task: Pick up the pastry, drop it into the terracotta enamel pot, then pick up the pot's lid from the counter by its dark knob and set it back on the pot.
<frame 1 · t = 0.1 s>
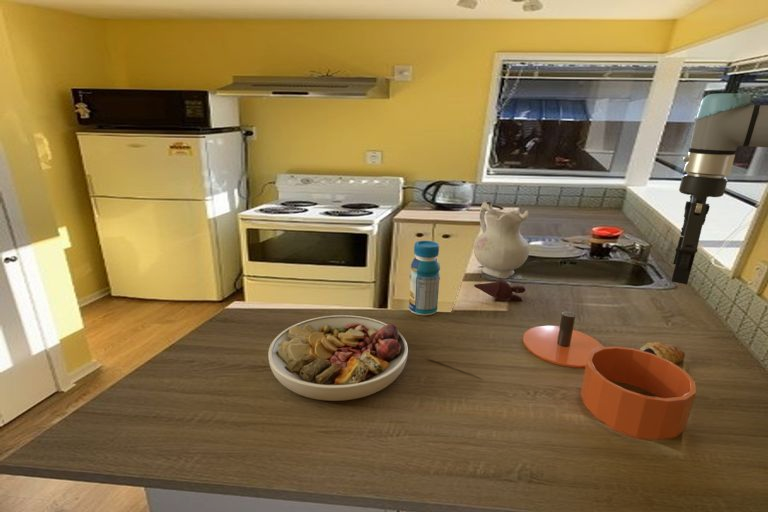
hand: (679, 273, 93), 22 cm above the worktop, tool pointing down, fingers open, 13 cm apart
pastry: (660, 359, 100), on the worktop
icecream: (497, 300, 130), on the worktop
pot lid: (563, 346, 103), point 1 cm above the worktop
pot: (629, 408, 82), on the worktop
beverage bottle: (422, 310, 122), on the worktop
bowl: (339, 366, 94), on the worktop
ceramic pitcher: (495, 271, 155), on the worktop
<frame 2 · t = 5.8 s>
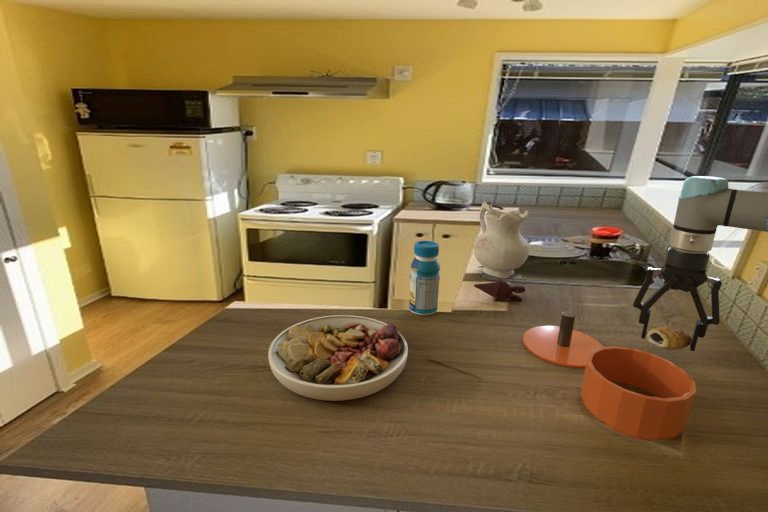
hand: (667, 342, 98), 5 cm above the worktop, tool pointing down, fingers closed on pastry, 9 cm apart
pastry: (666, 344, 98), point 4 cm above the worktop, touching gripper
everything else where it was.
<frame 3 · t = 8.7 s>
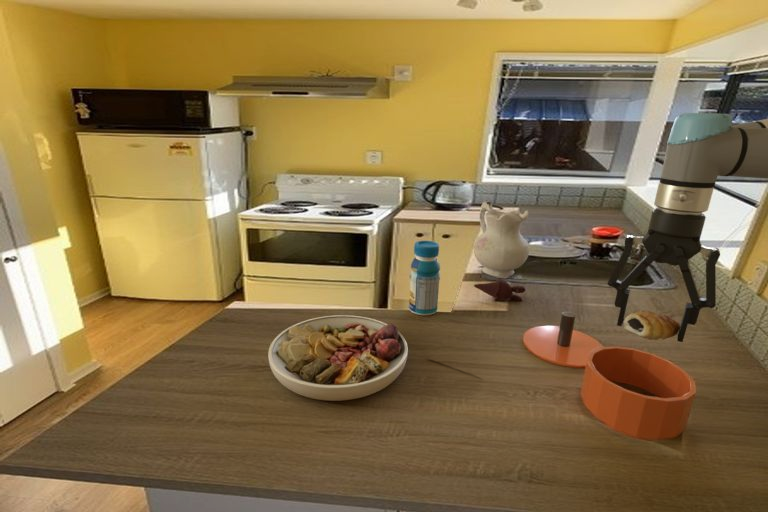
hand: (649, 330, 78), 17 cm above the worktop, tool pointing down, fingers closed on pastry, 9 cm apart
pastry: (648, 332, 78), point 16 cm above the worktop, touching gripper
everything else where it was.
when the fingers open (5 cm above the worktop, at t = 11.7 s): pastry drops 5 cm, resting on pot.
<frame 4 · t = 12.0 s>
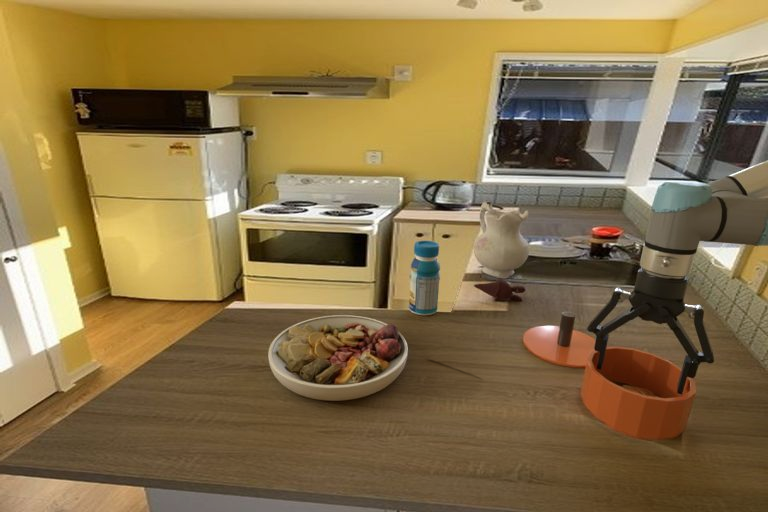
hand: (637, 377, 80), 7 cm above the worktop, tool pointing down, fingers open, 12 cm apart
pastry: (630, 406, 82), resting on pot
everything else where it was.
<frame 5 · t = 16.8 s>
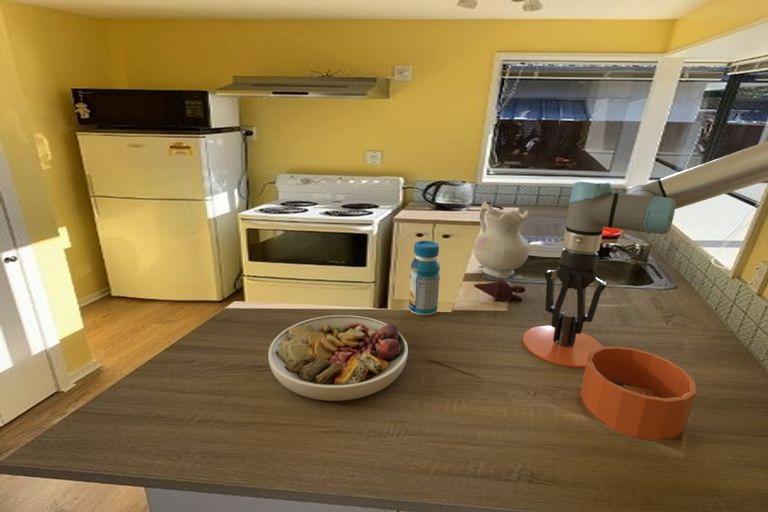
hand: (563, 341, 103), 2 cm above the worktop, tool pointing down, fingers closed on pot lid, 3 cm apart
pot lid: (563, 346, 103), point 1 cm above the worktop, touching gripper
everything else where it was.
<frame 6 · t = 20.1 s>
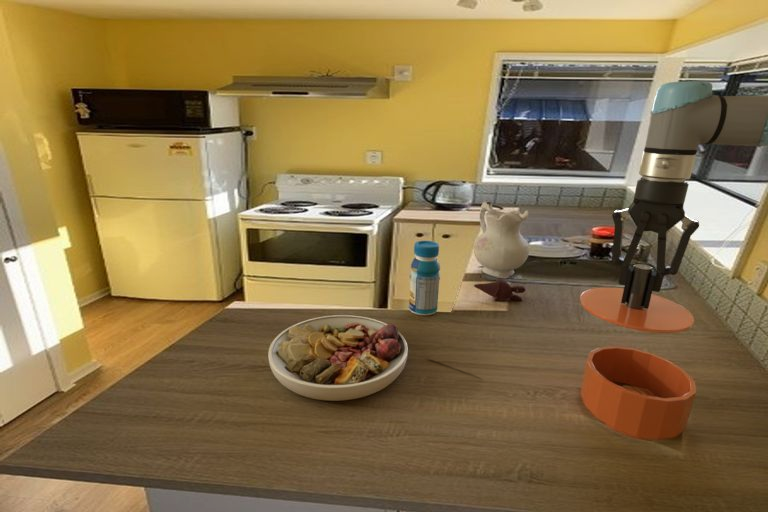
hand: (635, 303, 80), 20 cm above the worktop, tool pointing down, fingers closed on pot lid, 3 cm apart
pot lid: (633, 309, 81), point 19 cm above the worktop, touching gripper
everything else where it was.
when the fingers open (10 cm above the worktop, at t = 23.2 s): pot lid stays where it is, resting on pot.
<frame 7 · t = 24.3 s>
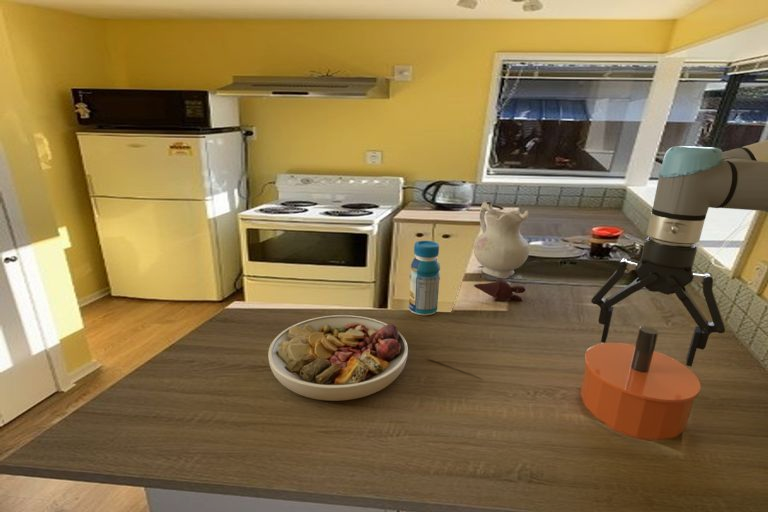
hand: (644, 350, 78), 13 cm above the worktop, tool pointing down, fingers open, 13 cm apart
pot lid: (638, 370, 80), point 8 cm above the worktop, touching pot
everything else where it was.
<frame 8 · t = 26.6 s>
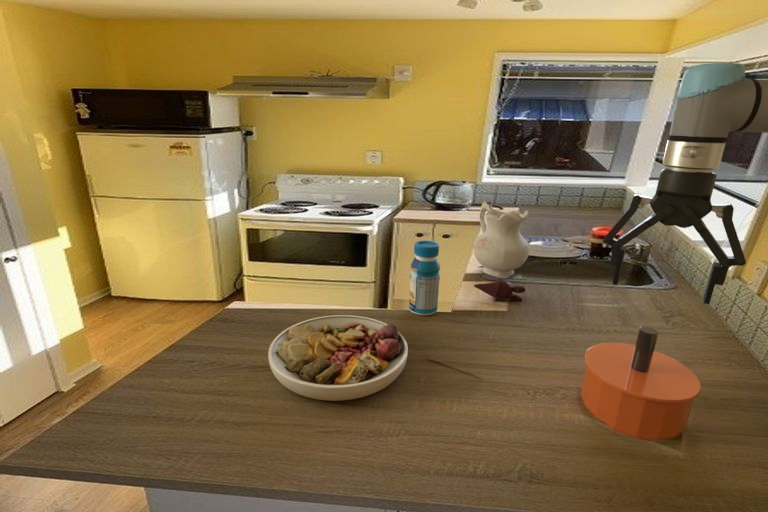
hand: (658, 291, 75), 25 cm above the worktop, tool pointing down, fingers open, 13 cm apart
nothing on the worktop moved.
at the end: pastry inside the target area in the pot (0.1 cm from its centre), point 0.3 cm above the pot's base; pot lid 0.0 cm off-centre on the pot, point 8.5 cm above the pot's base; pot lid tilted 0° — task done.
